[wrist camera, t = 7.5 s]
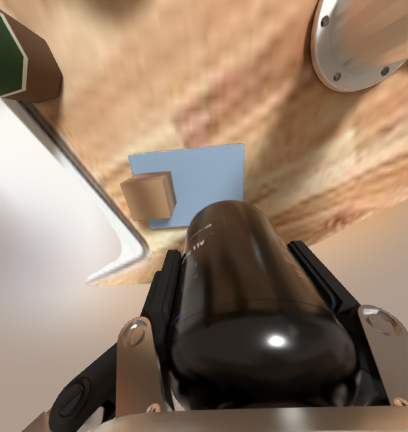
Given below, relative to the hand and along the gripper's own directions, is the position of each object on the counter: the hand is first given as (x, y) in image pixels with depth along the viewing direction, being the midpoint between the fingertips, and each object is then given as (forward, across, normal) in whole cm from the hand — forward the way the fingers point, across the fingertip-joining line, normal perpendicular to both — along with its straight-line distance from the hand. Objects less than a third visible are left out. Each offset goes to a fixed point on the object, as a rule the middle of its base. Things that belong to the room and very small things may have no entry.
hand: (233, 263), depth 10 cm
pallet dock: (+18, +4, 0) cm, 18 cm away
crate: (+15, +9, -1) cm, 17 cm away
